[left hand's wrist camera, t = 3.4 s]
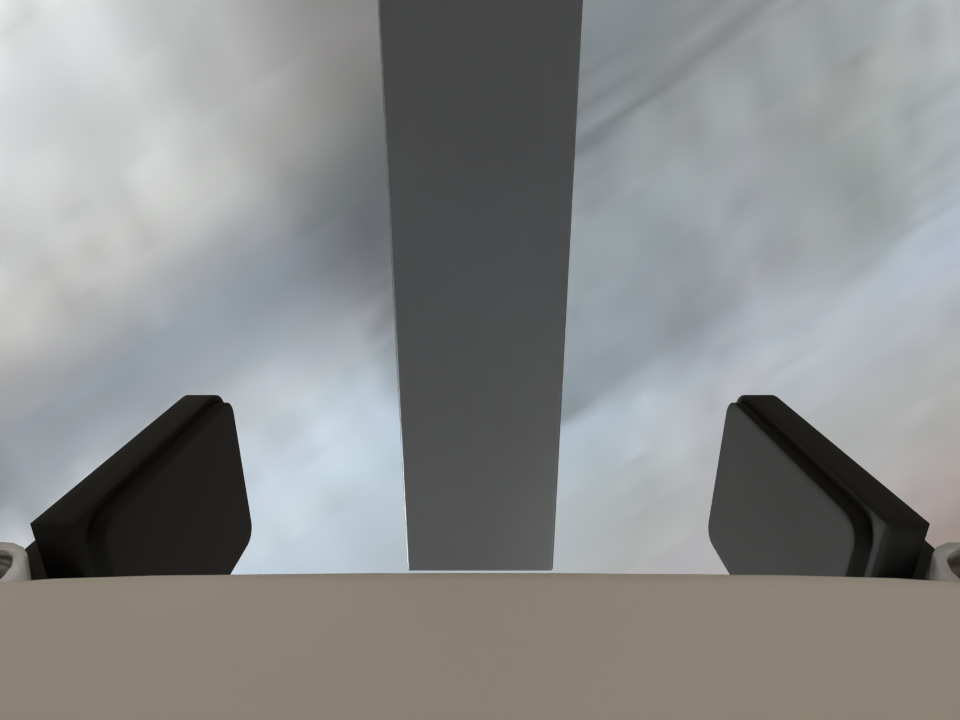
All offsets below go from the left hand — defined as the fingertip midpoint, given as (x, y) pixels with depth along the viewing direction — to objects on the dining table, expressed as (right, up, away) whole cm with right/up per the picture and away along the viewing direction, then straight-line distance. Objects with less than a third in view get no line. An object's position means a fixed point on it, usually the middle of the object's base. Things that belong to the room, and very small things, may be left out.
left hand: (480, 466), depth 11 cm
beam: (0, +27, +5) cm, 28 cm away
